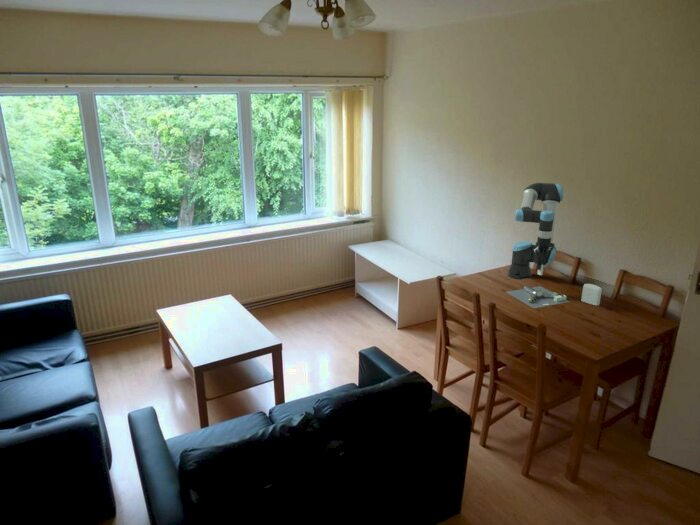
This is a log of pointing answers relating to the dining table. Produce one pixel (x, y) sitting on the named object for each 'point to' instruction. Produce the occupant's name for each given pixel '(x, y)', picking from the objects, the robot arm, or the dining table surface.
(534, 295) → the grey metal branched piece
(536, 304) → the level board
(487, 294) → the dining table surface
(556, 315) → the dining table surface
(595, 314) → the dining table surface
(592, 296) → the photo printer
